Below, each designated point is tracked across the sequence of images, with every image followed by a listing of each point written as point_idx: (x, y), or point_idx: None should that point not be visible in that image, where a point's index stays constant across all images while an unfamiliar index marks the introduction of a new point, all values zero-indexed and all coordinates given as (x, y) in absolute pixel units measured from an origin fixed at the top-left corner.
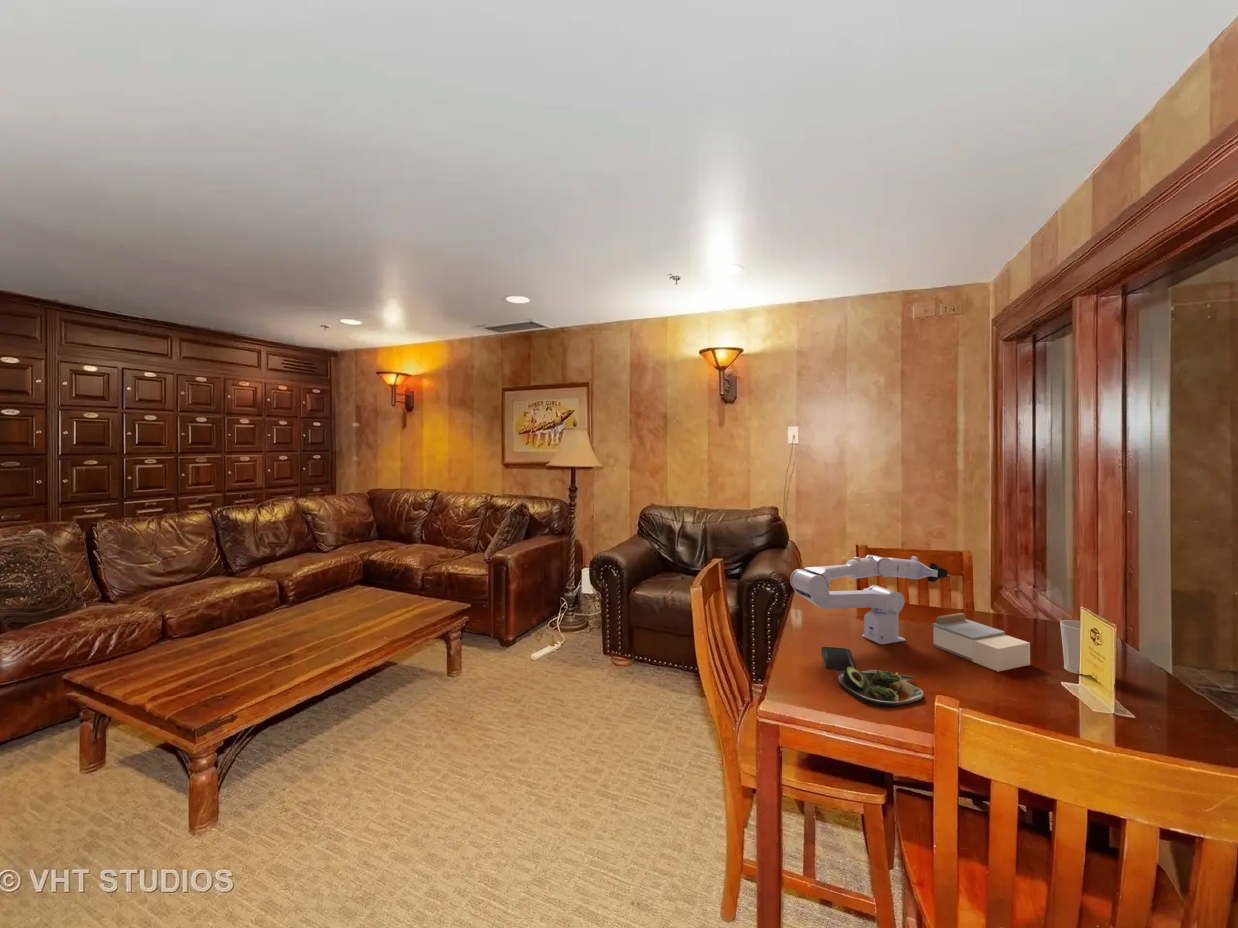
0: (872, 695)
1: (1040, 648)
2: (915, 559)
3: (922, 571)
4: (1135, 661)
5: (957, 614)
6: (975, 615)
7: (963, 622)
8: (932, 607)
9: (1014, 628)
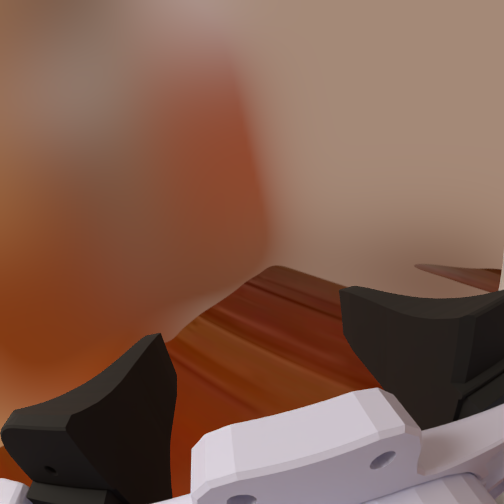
0: None
1: None
2: (383, 482)
3: (494, 485)
4: (437, 269)
5: None
6: (191, 342)
7: None
8: None
9: (289, 325)
